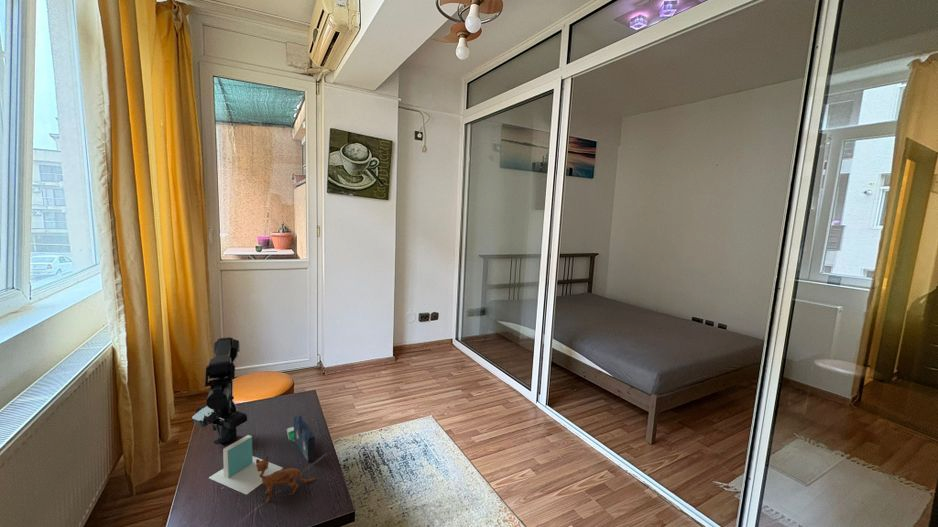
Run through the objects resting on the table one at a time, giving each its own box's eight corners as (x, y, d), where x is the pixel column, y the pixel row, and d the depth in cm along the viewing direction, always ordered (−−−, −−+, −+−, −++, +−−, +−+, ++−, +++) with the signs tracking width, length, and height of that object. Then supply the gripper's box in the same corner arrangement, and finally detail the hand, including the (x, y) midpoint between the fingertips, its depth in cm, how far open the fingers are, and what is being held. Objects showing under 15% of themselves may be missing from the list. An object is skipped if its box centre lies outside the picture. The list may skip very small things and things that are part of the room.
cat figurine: (312, 476, 127) (314, 438, 126) (318, 487, 122) (320, 448, 120) (253, 496, 116) (254, 455, 114) (256, 509, 110) (258, 466, 109)
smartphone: (304, 424, 156) (311, 442, 144) (304, 425, 156) (311, 444, 144) (286, 428, 152) (290, 447, 140) (286, 430, 152) (290, 449, 140)
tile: (223, 476, 123) (223, 449, 121) (248, 460, 131) (248, 434, 130) (228, 478, 122) (227, 450, 121) (253, 462, 130) (252, 436, 129)
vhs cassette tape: (314, 462, 133) (314, 436, 132) (306, 465, 131) (306, 439, 130) (301, 437, 147) (301, 414, 146) (293, 440, 145) (293, 416, 144)
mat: (208, 479, 122) (208, 477, 122) (247, 455, 135) (247, 453, 135) (246, 496, 115) (246, 494, 115) (283, 469, 128) (283, 467, 128)
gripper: (178, 399, 122) (180, 442, 124) (215, 412, 116) (217, 458, 117) (211, 386, 133) (213, 426, 135) (248, 397, 126) (249, 439, 128)
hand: (222, 437), depth 128 cm, fingers closed
